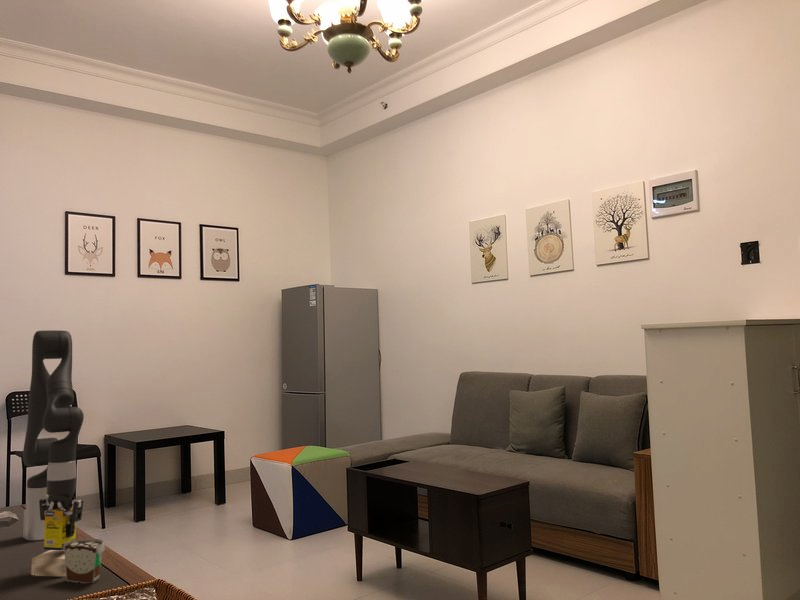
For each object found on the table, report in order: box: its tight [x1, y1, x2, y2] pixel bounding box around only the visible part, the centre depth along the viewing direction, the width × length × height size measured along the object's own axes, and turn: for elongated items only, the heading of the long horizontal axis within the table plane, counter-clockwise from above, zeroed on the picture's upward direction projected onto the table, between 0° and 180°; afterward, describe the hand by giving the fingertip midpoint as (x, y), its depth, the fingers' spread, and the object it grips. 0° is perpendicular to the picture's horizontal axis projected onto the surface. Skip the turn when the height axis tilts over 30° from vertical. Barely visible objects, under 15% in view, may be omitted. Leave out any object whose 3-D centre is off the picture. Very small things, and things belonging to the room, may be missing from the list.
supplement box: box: [43, 508, 77, 551], centre depth 182 cm, size 6×6×11 cm
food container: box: [63, 538, 106, 584], centre depth 174 cm, size 12×6×10 cm, turn 71°
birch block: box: [30, 550, 66, 577], centre depth 181 cm, size 10×10×5 cm
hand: (60, 535), depth 182 cm, fingers closed on supplement box, 6 cm apart
